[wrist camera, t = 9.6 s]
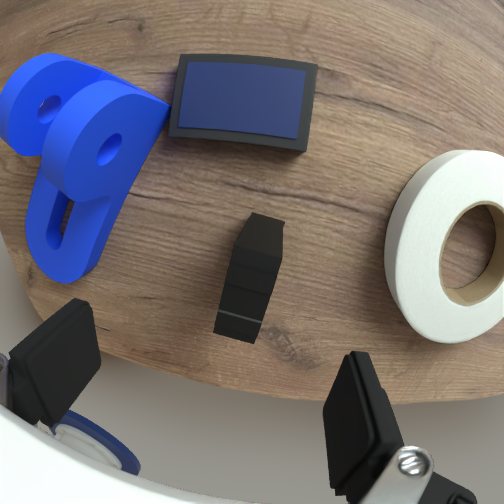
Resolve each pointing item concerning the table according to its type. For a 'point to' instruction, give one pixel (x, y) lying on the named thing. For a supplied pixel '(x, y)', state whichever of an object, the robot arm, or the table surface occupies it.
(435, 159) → the tape roll
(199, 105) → the ink pad
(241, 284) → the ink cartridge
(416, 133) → the table surface
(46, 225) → the bracket
